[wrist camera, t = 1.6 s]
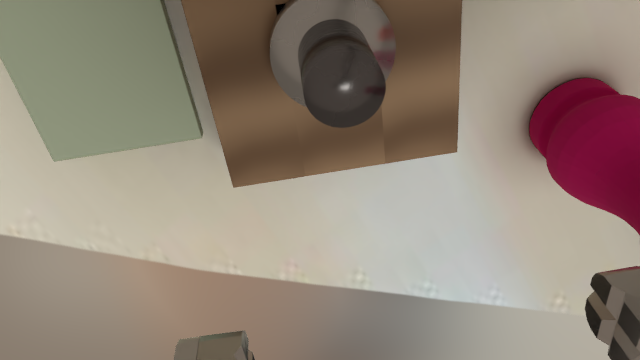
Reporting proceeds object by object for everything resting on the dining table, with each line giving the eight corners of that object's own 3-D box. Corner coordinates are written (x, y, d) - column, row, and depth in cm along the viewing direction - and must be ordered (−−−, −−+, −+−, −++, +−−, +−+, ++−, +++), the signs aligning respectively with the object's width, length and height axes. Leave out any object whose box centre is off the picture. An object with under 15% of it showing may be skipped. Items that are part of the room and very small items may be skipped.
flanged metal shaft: (259, -30, 29) (257, 30, 20) (369, -48, 29) (416, 5, 20) (278, 73, 33) (284, 163, 24) (376, 58, 33) (418, 142, 24)
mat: (-45, -49, 27) (-53, -46, 26) (139, -78, 27) (136, -76, 26) (57, 155, 35) (54, 161, 34) (203, 132, 35) (201, 138, 34)
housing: (168, -116, 26) (151, -106, 22) (435, -158, 26) (466, -156, 22) (236, 146, 35) (233, 187, 31) (434, 114, 35) (457, 152, 31)
